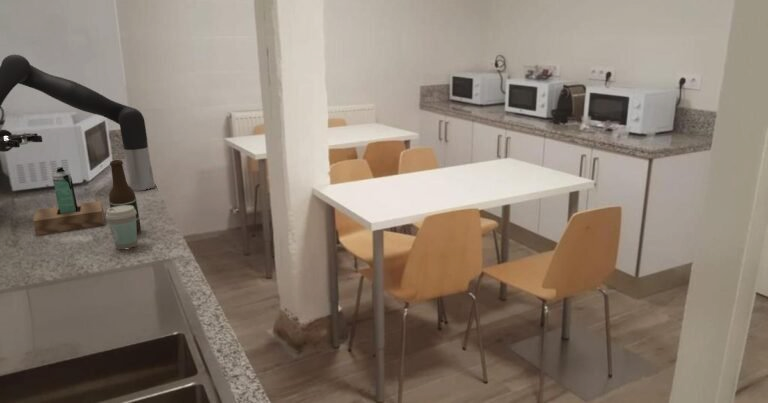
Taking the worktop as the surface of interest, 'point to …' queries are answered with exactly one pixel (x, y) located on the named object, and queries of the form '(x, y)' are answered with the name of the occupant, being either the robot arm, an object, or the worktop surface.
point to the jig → (68, 218)
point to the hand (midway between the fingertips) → (30, 141)
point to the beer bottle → (122, 190)
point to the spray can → (64, 191)
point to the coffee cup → (123, 225)
